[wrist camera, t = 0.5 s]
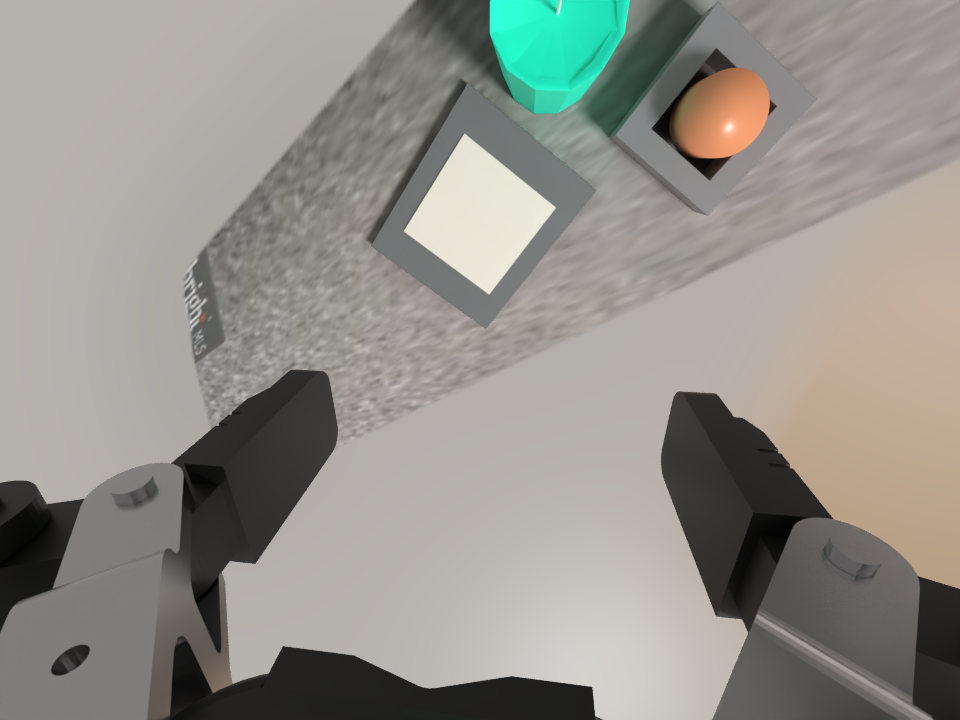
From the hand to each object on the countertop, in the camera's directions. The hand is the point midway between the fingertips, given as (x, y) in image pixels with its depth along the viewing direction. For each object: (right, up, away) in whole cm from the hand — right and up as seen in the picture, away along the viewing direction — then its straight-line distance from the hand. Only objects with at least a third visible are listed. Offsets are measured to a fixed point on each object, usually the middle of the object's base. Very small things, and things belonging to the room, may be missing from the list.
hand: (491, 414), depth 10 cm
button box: (+14, +17, +18) cm, 28 cm away
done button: (+14, +16, +17) cm, 27 cm away
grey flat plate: (0, +12, +22) cm, 25 cm away
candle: (+4, +20, +18) cm, 27 cm away
